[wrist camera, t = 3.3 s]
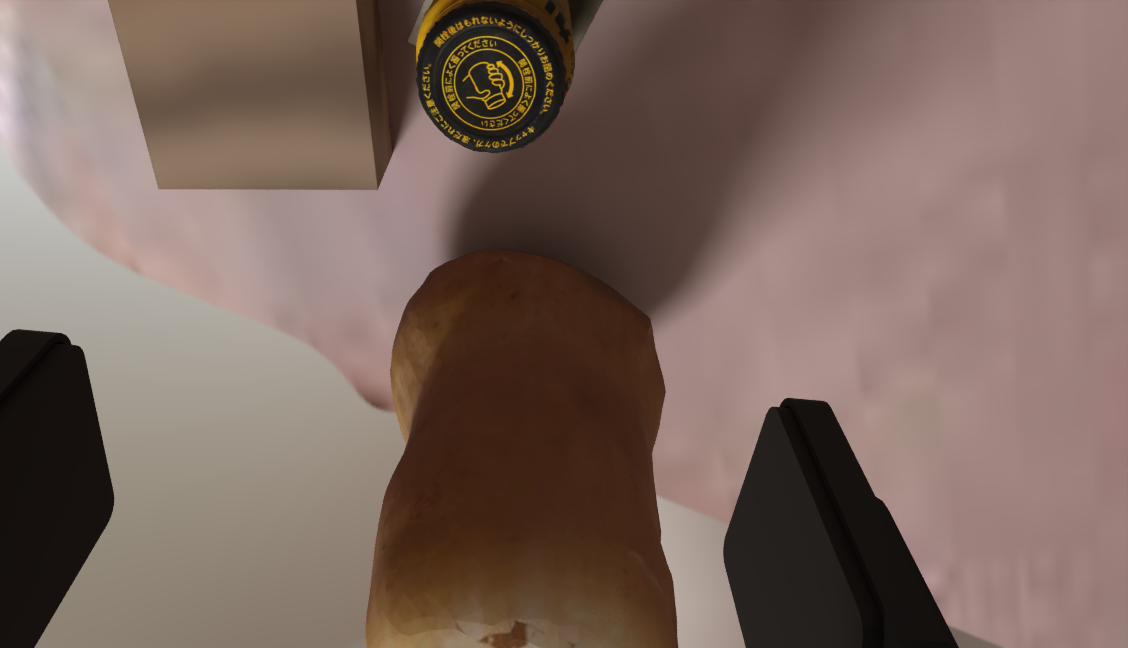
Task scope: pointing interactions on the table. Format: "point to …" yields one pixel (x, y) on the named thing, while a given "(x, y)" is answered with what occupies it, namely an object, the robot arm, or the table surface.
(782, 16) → the table surface
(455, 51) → the condiment
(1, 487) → the robot arm
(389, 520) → the butternut squash
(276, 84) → the beige square block
